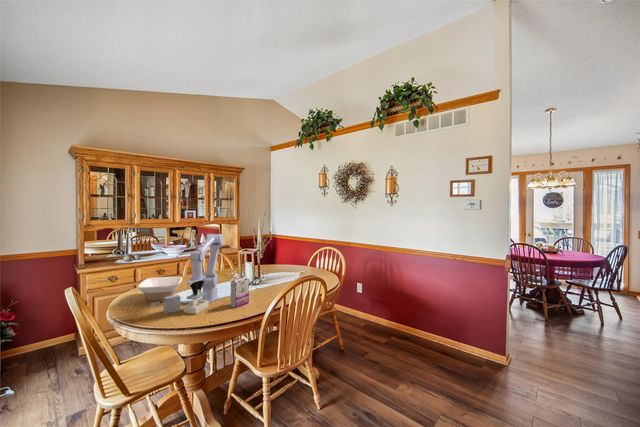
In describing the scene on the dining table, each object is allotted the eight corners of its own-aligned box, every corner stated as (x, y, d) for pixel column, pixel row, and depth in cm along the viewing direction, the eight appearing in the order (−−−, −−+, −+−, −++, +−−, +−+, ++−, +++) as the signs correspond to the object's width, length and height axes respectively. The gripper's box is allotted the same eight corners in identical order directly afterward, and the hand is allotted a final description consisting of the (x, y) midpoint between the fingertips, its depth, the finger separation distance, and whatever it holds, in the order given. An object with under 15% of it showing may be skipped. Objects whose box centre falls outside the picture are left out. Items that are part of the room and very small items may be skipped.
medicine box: (177, 308, 165) (177, 294, 165) (180, 310, 162) (180, 296, 162) (163, 312, 159) (163, 297, 159) (166, 314, 156) (166, 299, 156)
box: (197, 305, 170) (197, 299, 170) (208, 307, 169) (208, 300, 169) (183, 312, 159) (183, 306, 159) (195, 314, 157) (195, 307, 157)
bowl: (177, 302, 175) (177, 285, 175) (133, 305, 168) (133, 287, 168) (184, 290, 198) (184, 276, 198) (146, 292, 191) (146, 277, 191)
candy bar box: (243, 301, 180) (244, 276, 180) (248, 303, 177) (249, 278, 177) (229, 306, 171) (230, 280, 170) (235, 308, 168) (236, 281, 167)
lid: (197, 293, 169) (197, 287, 169) (206, 294, 168) (206, 287, 168) (186, 298, 159) (186, 292, 159) (195, 299, 158) (195, 293, 158)
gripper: (199, 268, 171) (198, 289, 171) (182, 273, 157) (182, 297, 157) (209, 268, 169) (208, 290, 170) (193, 274, 155) (193, 298, 156)
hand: (196, 293), depth 163 cm, fingers closed on lid, 2 cm apart
